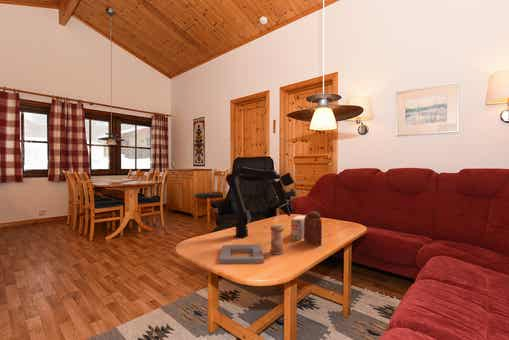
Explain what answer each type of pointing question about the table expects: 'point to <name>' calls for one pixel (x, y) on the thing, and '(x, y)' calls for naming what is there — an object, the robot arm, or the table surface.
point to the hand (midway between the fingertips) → (290, 214)
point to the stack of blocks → (297, 228)
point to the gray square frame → (238, 249)
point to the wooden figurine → (313, 228)
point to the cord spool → (277, 240)
